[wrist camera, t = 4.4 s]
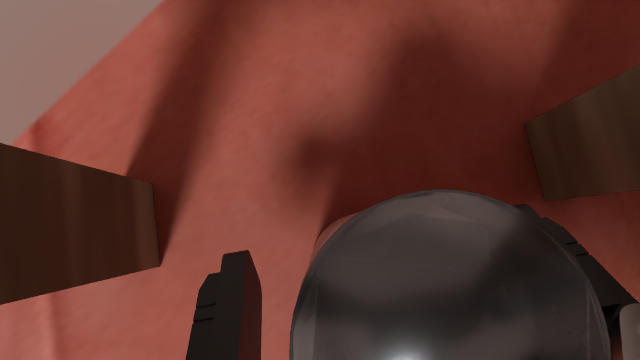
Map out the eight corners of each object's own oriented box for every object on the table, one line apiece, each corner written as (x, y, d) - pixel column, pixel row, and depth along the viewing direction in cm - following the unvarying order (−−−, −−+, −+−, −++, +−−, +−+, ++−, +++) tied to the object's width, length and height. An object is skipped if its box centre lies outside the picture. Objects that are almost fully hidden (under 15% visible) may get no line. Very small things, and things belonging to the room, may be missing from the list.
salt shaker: (401, 205, 16) (563, 166, 6) (422, 308, 16) (652, 495, 5) (301, 222, 16) (267, 216, 5) (319, 327, 16) (318, 561, 5)
